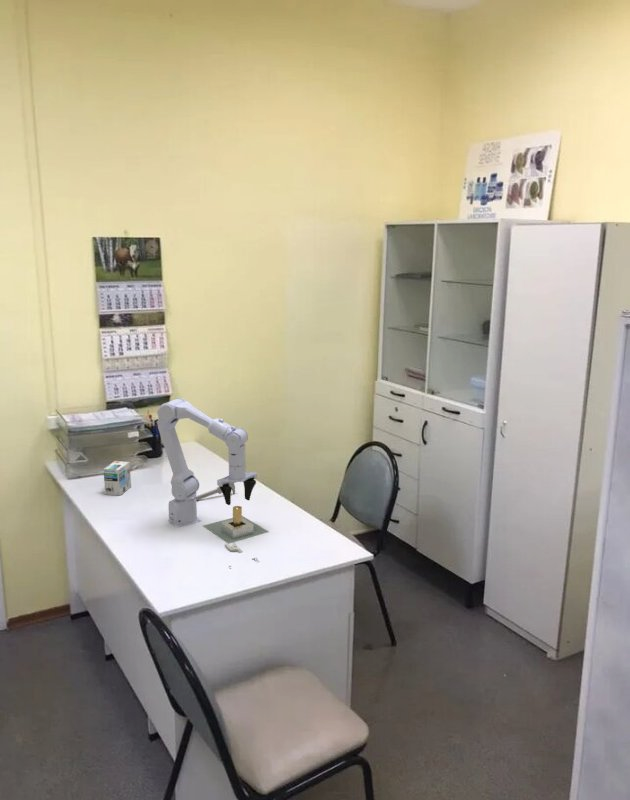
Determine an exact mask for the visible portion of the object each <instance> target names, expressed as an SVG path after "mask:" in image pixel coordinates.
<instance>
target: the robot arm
mask: <svg viewBox="0 0 630 800" xmlns="http://www.w3.org/2000/svg"><path fill="white" fill-rule="evenodd" d="M156 414H157V417H158V419H157V429H158V432H159V436H160V438H161V440H162V445H163V448H164V450H165V451H164V452H165V453H166V457H167V460H168V462H169V465H170V469H171V471H172V477H171V480H170V484H171V494H172V496H173V499H171V500H170V501H168V505H167V508H168V520H167V521H168V522H170V523H171V524H173V525H174V526H175V527H177V528H180V527H184V526H189V525H192V524H195V523H200V522H202V520H203V519H201V518H200V517H198V515H197V514H198V513H197V512H198V511H197V509H198V508H197V506H198V505H197V501H196V496H197V492H198V491H199V488H200V481H199V479H198V478H197V477H196V476H195V473H194V471H192V470H191V469H189V468H188V467H189V466H188V464H187V462H186V458H185V456H184V452H183V449H182V446H181V442H180V439H179V436H178V434H177V433H178V432H177V431H176V425H178V422H179V420H183V419H189V420H190V421H193V422H195V423H197V424H199V425H201V426H203V427H205V428H207V429H208V433H209V434H211V435H212V436H214V437H216V438H218V439H219V440H221V441H223V442H225V445H226V446H227V448H228V449H227V450H228V475H227V476H224V477H221V478H218V479H217V480H216V482H217V484H216V485H217V487H220V489H221V491H222V493H221V494H222V495H223V499H224V501H225V504H226V505H227V506H231V505H232V504H231V503H232V500H231V499H232V498H231V496H232V495H231V494H232V488H231V487H230V485H229V484H231V483H234V484H236V483H243V487H244V489H243V490H244V500H246V501H250V500H251V495H252V492H253V489H254V488H255V486H256V484H257V480H256V479H257V478H258V473H257V472H256V471H252V472H251V471H250V472H247V471H246V470H247V469H246V467H247V465H246V463H247V461H246V443H247V441H248V440H249V435H248V432H247V431H246V430H245V429H244V428H242V427H237V428H236V426H235V425H231V424H229V423H227V422H226V421H225V420H224V419H223V418H222V417H221V418H218V417H216V418H214V419H213V418H212V417H210V416H208V415H207V414H205V413H204V412H202V411H200V410H199V409H198V408H196V407H195V406H193V405H192V404H191V402H190V401H188V400H185V399H184V398H181V397H176V398H175V399H173V400H169V401H168V402H164V403H162V404H161V405H160V406H159V408H158V409H157V411H156Z"/></svg>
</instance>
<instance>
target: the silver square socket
mask: <svg viewBox="0 0 630 800" xmlns="http://www.w3.org/2000/svg"><path fill="white" fill-rule="evenodd" d="M221 531H222V532H223V533H225V534H226V535H228V536H229V537H231V538H232V539H236V538H239V537H243V536H246V535H250V534H253V533H254V529H253V524H252V523H250V522H248V521H247V520H245V519H243V518H242V526H238V527H234V526H233V520H229V521H225V522H222V523H221Z"/></svg>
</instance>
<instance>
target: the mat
mask: <svg viewBox="0 0 630 800" xmlns="http://www.w3.org/2000/svg"><path fill="white" fill-rule="evenodd" d="M242 518H243V519H245V520H247V521H248V522H250V523H252V524H253V529H254V533H253V534H250V535H246V536H243V537H239V538H236V539H232V538H231V537H229V536H228V535H226V534H225V533H223V532H222V531H221V523H222V522H225V521H229V520H233V517H230V518H227V519H226V518H225V519H223V520H220V521H216V522H212V523H208V524H205V525H202V527H203V528H204V529H206V530H208V531H209V532H210V533H212V534H214V535H215V536H217V538H219V539H221V540H222V541H223V542H225V543H226V544H228V545H229V544H231V543H232V544H233V542H235V543H236V542H239V541H242V540H245V539H249V538H253V537H257V536H260V535H263V534H268V533H269V531H268V530H267V529H265V528H263V527H262V526H261V525H259V524H257V523H255V522H254V521H252V520H250V519H249V518H247V517H246V516H244V515H242Z"/></svg>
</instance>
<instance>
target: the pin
mask: <svg viewBox="0 0 630 800" xmlns="http://www.w3.org/2000/svg"><path fill="white" fill-rule="evenodd" d="M242 507H243V506H239V505H234V506H233V507H232V518H233V526H234V527H238V526H242V516H243V514H242V513H243V509H242Z"/></svg>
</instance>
